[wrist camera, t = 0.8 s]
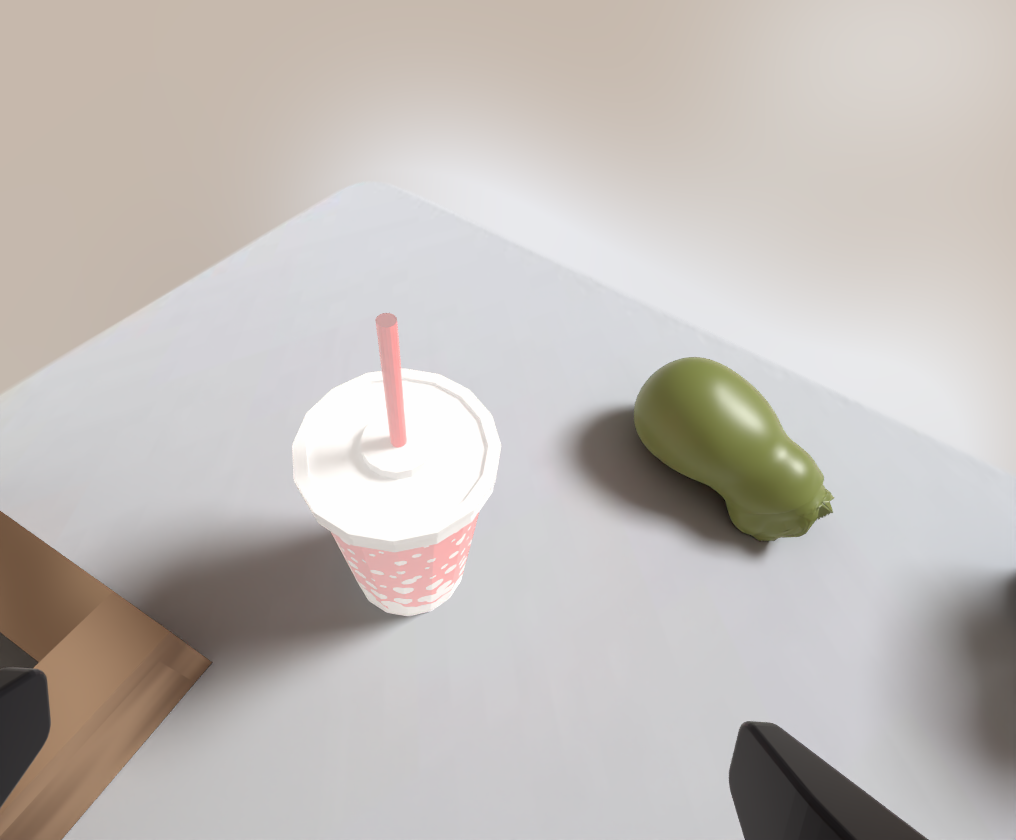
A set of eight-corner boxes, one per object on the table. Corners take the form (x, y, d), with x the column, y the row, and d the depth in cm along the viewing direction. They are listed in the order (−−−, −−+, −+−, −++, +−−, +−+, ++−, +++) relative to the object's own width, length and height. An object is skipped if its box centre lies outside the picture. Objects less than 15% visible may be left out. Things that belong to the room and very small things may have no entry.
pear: (706, 317, 26) (880, 463, 24) (656, 378, 31) (799, 506, 29) (642, 374, 24) (831, 545, 22) (597, 432, 28) (750, 578, 26)
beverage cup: (485, 633, 22) (533, 432, 11) (327, 639, 21) (205, 431, 10) (479, 497, 26) (512, 242, 14) (345, 498, 25) (269, 231, 14)
